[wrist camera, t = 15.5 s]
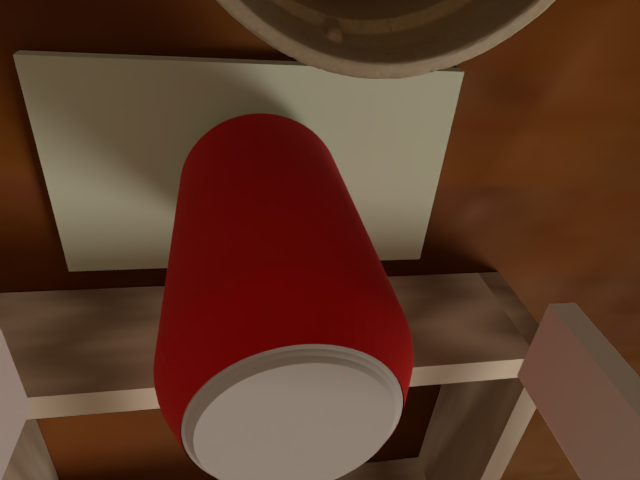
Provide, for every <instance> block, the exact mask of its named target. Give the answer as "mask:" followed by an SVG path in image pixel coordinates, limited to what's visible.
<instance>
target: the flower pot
mask: <svg viewBox="0 0 640 480" xmlns="http://www.w3.org/2000/svg"><path fill="white" fill-rule="evenodd" d="M216 1H217V2H218V3H219V4H220V5H221V6H222V7H223V8H224V9H225V10H226V11H227V12H228V13H229V14H230V15H231V16H232V17H233V18H235V19H236V20H237V21H238V22H240V23H241V24H242V25H243V26H244V27H246V28H247V29H248V30H249V31H250V32H252V33H253V34H254V35H256V36H257V37H259V38H260V39H261V40H263V41H264V42H266V43H267V44H269V45H270V46H271V47H273V48H275V49H277V50H278V51H280V52H282V53H284V54H285V55H287V56H289V57H292V58H294V59H296V60H297V61H299V62H301V63H303V64H306V65H309V66H312V67H316V68H318V69H322V70H325V71H327V72H331V73H335V74H340V75H344V76H350V77H356V78H365V79H401V78H408V77H413V76H419V75H423V74H427V73H431V72H434V71H437V70H440V69H446V68H449V67H452V66H455V65H457V64H459V63H461V62H463V61H466V60H469V59H472V58H473V57H475V56H477V55H480V54H482V53H484V52H486V51H488V50H489V49H491V48H493V47H495V46H496V45H498V44H499V43H501V42H502V41H504V40H506V39H507V38H509V37H511V36H512V35H513V34H515V33H516V32H518V31H519V30H520V29H522V28H523V27H525V26H526V25H527V24H529V23H530V22H531V21H532V20H534V19H535V18H536V17H538V16H539V15H540V14H542V13H543V12H544V11H545V10H546V9H547V8H548V7H549V6H550V5H551V4H552V3H553V2H554V1H555V0H216Z"/></svg>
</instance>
